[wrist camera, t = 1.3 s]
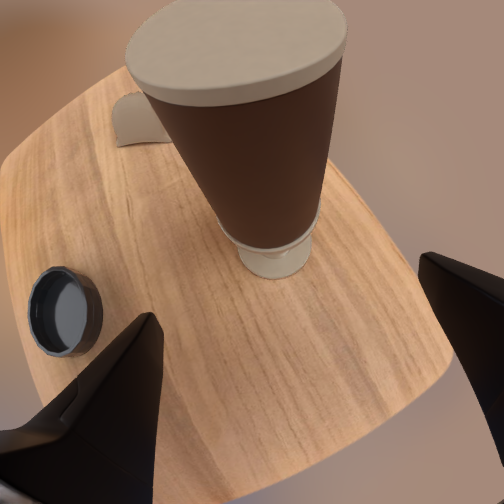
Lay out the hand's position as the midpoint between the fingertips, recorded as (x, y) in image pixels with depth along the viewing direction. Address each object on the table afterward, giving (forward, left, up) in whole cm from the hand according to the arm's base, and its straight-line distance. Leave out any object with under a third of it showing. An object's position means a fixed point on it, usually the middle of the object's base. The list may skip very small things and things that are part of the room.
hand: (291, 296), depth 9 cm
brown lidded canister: (+5, -3, -5) cm, 8 cm away
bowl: (+14, +14, -13) cm, 24 cm away
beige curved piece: (+23, -4, -14) cm, 27 cm away
